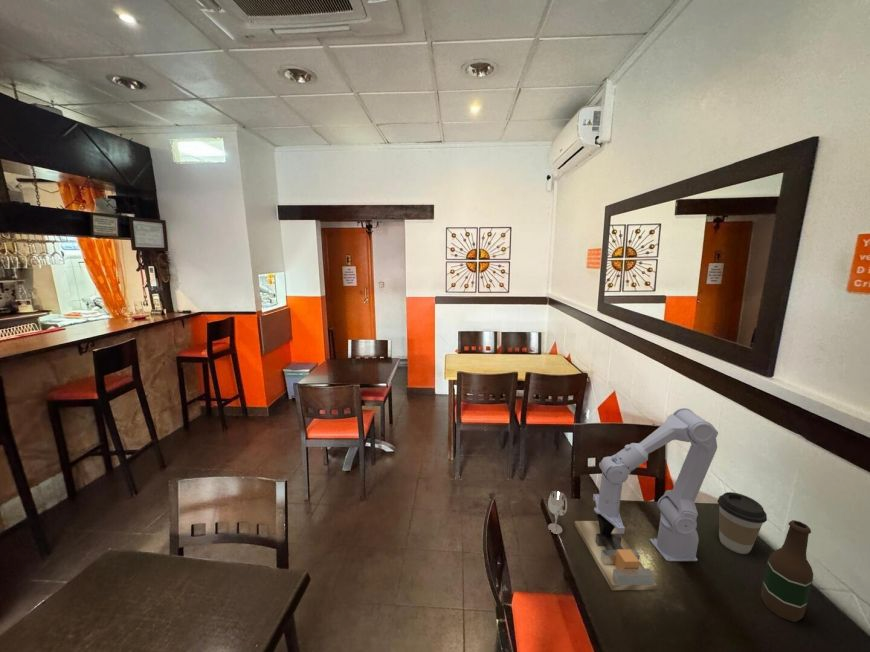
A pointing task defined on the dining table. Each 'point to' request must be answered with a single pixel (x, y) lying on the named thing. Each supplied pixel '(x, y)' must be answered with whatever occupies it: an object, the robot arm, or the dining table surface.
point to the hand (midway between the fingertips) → (604, 536)
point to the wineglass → (557, 509)
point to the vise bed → (589, 536)
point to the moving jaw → (611, 547)
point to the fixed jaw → (633, 577)
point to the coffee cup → (739, 521)
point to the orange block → (626, 559)
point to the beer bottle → (789, 575)
